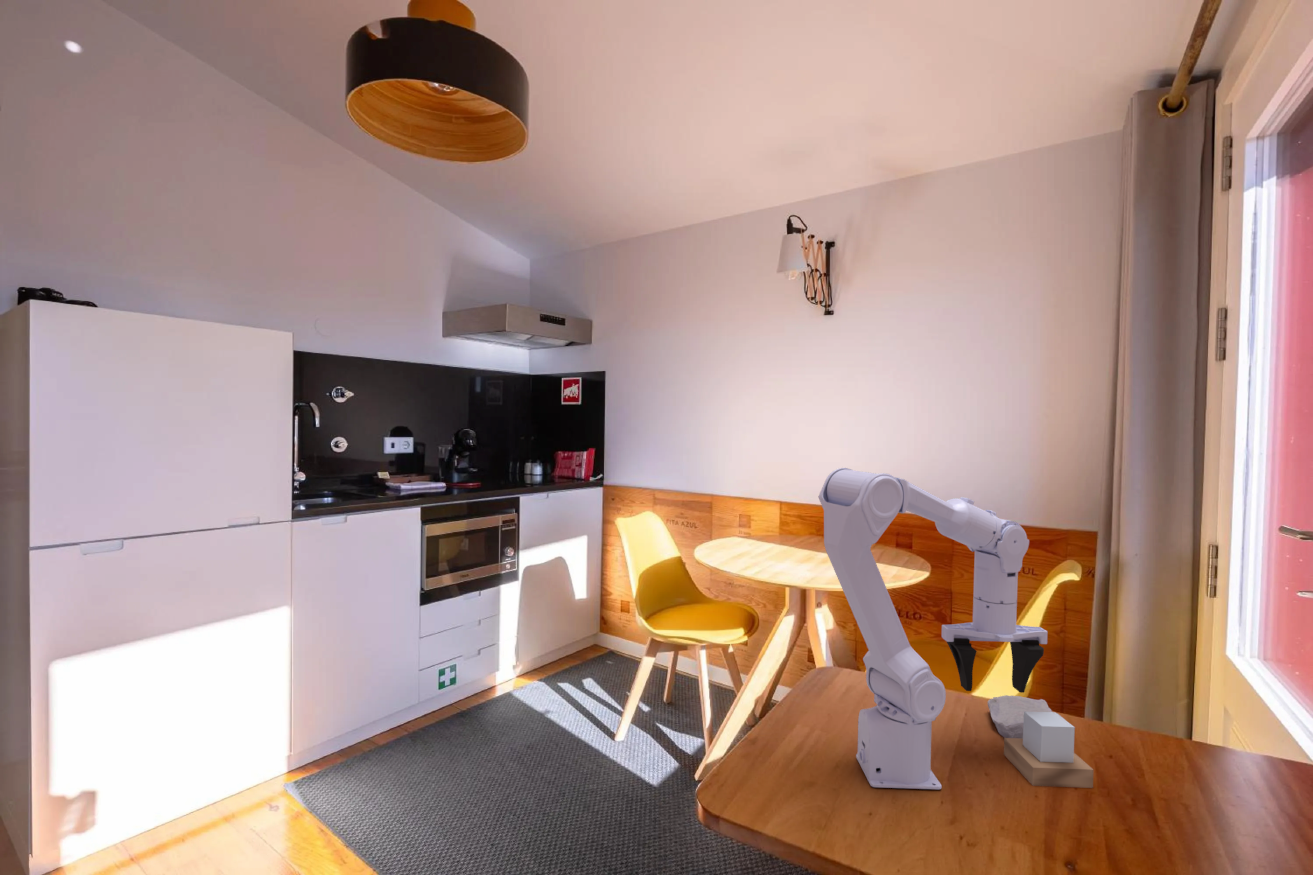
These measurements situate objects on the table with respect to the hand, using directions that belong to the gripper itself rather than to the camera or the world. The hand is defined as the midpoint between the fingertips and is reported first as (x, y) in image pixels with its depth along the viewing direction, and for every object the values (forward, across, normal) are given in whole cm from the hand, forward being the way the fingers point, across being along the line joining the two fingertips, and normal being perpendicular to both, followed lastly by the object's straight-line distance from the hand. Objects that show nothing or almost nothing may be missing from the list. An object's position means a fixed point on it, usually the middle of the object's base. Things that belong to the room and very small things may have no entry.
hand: (992, 688), depth 95 cm
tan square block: (+10, +6, -4) cm, 13 cm away
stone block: (+10, +9, +8) cm, 16 cm away
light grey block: (+7, +6, -4) cm, 10 cm away
